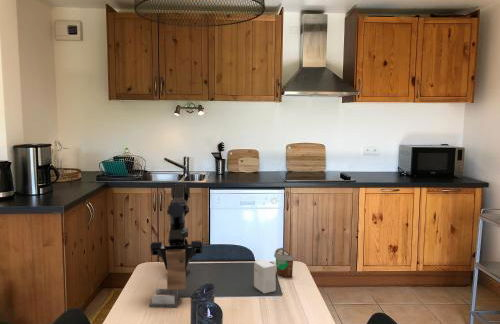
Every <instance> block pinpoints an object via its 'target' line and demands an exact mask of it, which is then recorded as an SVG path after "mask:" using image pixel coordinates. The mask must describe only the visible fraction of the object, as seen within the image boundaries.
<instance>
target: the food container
mask: <svg viewBox="0 0 500 324" xmlns="http://www.w3.org/2000/svg"><path fill="white" fill-rule="evenodd" d="M273 256H274V258H275V265H276V275H277V276H279V277H280V278H293V269H294V267H293V266H294V260H295V257H294V255H291V254H290V253H289V252H288V251H286V250H285V249H284V247H279V248H277V249H276V250H275V251H274V254H273Z"/></svg>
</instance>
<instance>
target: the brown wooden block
mask: <svg viewBox="0 0 500 324" xmlns="http://www.w3.org/2000/svg"><path fill="white" fill-rule="evenodd" d="M166 258H167V270H166V288H167V290H178V291H181V290H186V289H187V286H186V285H187V280H186V279H187V278H186V277H187V274H186V270H185V262H186V260H185V249H181V250H166Z"/></svg>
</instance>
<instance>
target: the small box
mask: <svg viewBox="0 0 500 324" xmlns="http://www.w3.org/2000/svg"><path fill="white" fill-rule="evenodd" d="M276 275H277V271H276V264H274V263H272V262H270V261H268V260H267V259H262V260H257V261H254V262H253V286H254V288H255V289H257V290H259V291H260V292H261V293H262V294H268V293H273V292H275V291H276V290H277V289H276V288H277V287H276V286H277V285H276V283H277V282H276V281H277V280H276V279H277V277H276Z"/></svg>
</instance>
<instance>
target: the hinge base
mask: <svg viewBox="0 0 500 324" xmlns="http://www.w3.org/2000/svg"><path fill="white" fill-rule="evenodd" d="M155 291H156V292H155V294H152V295H151V301H150V302H149V304H148V308H168V309H169V308H170V309H172V308H174V309H175V308H176V309H177V308H178V306H179V303H180V301H181V298H182V295H179V290H167V287H157V288H156V289H155Z"/></svg>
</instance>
